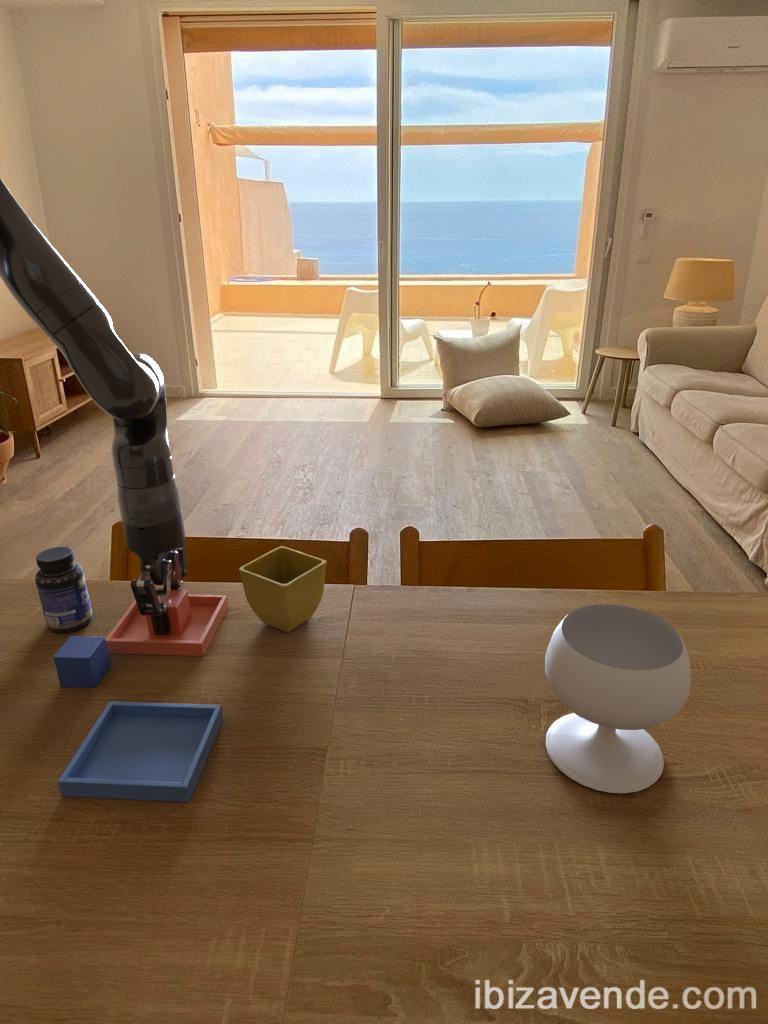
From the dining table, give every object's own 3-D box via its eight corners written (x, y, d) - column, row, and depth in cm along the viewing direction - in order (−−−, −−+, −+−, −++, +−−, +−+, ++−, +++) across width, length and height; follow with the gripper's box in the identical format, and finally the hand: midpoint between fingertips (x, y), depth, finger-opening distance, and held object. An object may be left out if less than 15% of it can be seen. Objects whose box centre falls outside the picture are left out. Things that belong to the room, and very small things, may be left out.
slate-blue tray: (61, 796, 70) (57, 781, 69) (112, 714, 81) (109, 701, 80) (189, 802, 69) (186, 787, 68) (223, 718, 80) (221, 705, 79)
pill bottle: (98, 625, 98) (83, 556, 94) (52, 639, 95) (34, 568, 91) (87, 606, 103) (72, 539, 99) (43, 619, 100) (26, 551, 95)
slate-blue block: (60, 687, 86) (52, 657, 84) (77, 664, 90) (70, 635, 88) (95, 688, 85) (88, 658, 84) (111, 666, 90) (104, 636, 88)
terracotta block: (149, 634, 95) (143, 606, 93) (160, 616, 99) (156, 589, 97) (181, 635, 95) (176, 607, 93) (191, 617, 99) (187, 590, 97)
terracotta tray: (106, 653, 92) (103, 640, 91) (141, 604, 103) (139, 593, 102) (203, 656, 91) (201, 643, 90) (228, 606, 102) (227, 595, 102)
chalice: (525, 780, 71) (536, 659, 65) (548, 697, 83) (559, 588, 77) (671, 820, 66) (699, 694, 60) (673, 726, 78) (696, 612, 72)
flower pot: (285, 597, 104) (281, 544, 101) (330, 615, 100) (327, 560, 96) (243, 624, 98) (237, 568, 94) (289, 644, 93) (284, 586, 90)
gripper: (144, 489, 97) (162, 595, 104) (98, 535, 84) (122, 652, 91) (196, 490, 96) (211, 596, 103) (159, 536, 83) (178, 653, 90)
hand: (169, 621), depth 97 cm, fingers open, 5 cm apart
